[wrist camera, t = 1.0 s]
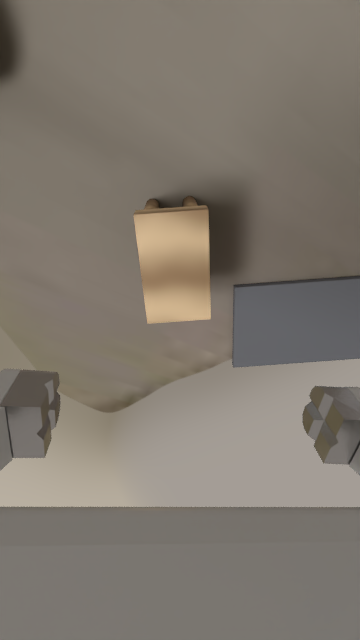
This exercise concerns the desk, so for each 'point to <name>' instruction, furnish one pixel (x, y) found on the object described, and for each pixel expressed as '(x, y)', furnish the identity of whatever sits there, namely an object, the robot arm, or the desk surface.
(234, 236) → the desk surface
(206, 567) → the robot arm
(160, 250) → the oak stool
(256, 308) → the charcoal mat
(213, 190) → the desk surface
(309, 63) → the desk surface
